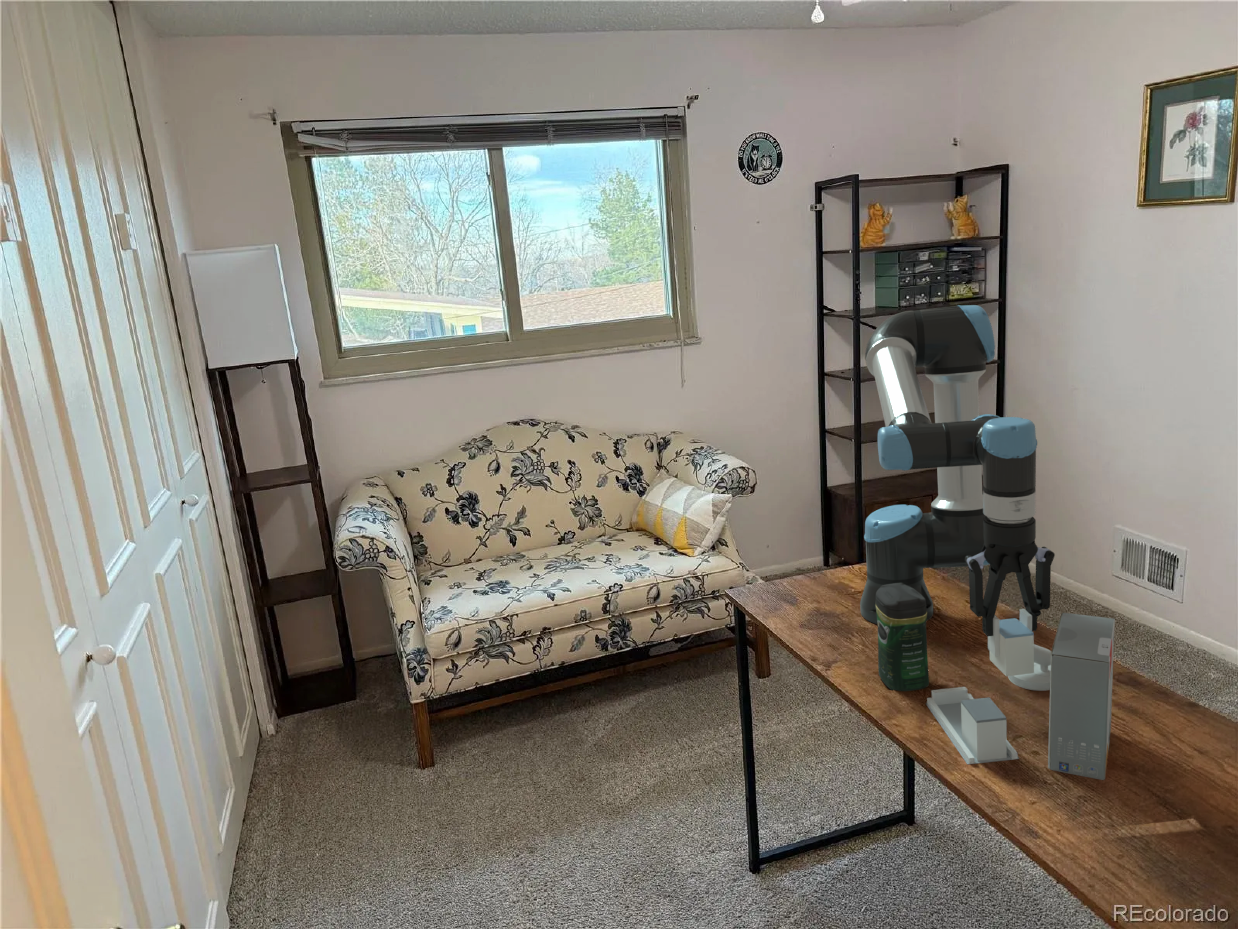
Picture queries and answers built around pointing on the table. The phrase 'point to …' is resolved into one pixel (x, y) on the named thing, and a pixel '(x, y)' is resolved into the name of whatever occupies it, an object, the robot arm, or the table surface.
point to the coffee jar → (902, 637)
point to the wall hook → (1036, 672)
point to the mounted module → (984, 729)
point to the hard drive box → (1081, 695)
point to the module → (1014, 648)
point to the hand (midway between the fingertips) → (1009, 650)
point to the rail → (957, 721)
